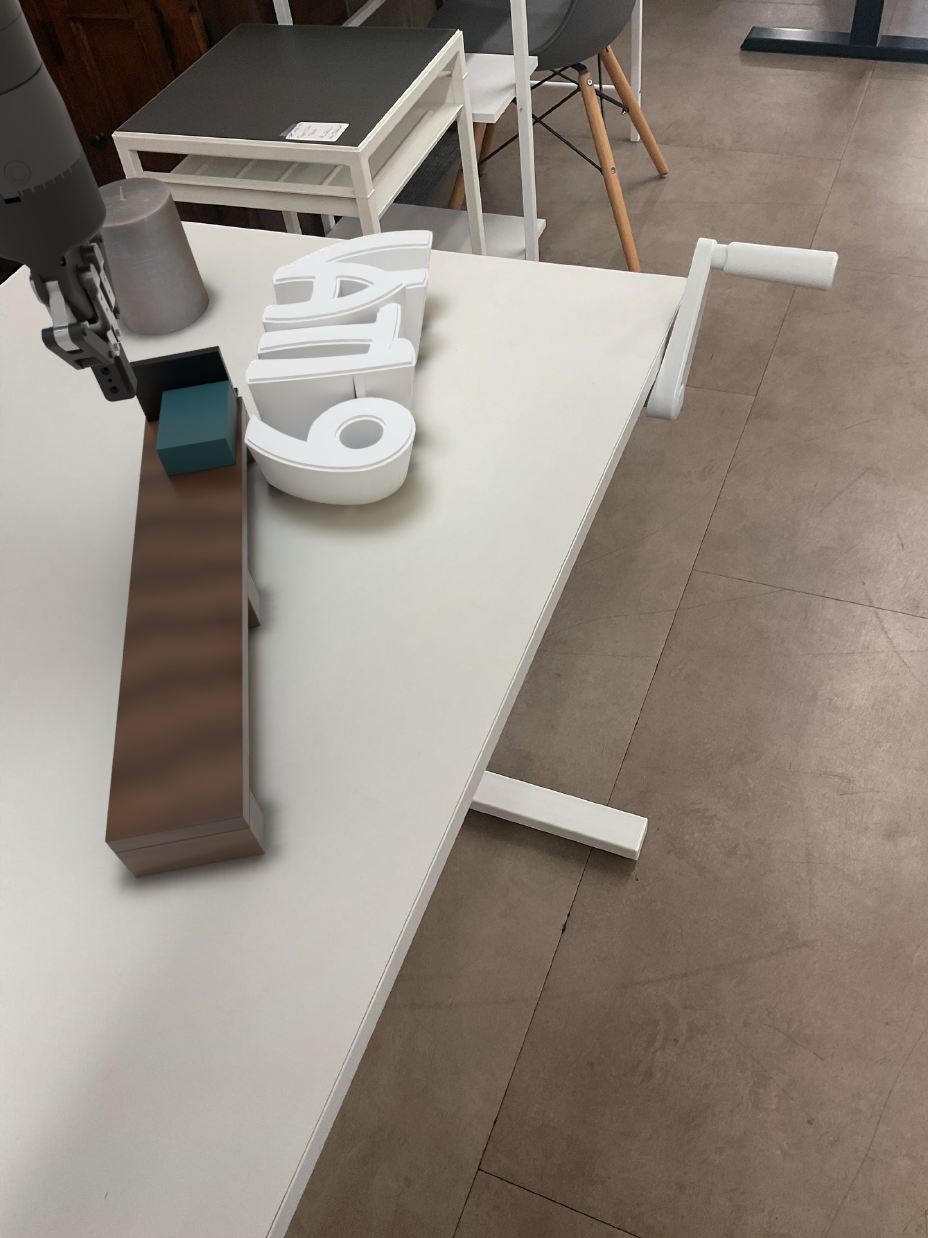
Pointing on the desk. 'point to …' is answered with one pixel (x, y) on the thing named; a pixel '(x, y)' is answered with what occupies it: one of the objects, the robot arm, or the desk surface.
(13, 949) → the desk surface
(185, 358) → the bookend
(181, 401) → the teal rectangular block
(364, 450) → the white numeral sign
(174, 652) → the shelf
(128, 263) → the pillar candle
